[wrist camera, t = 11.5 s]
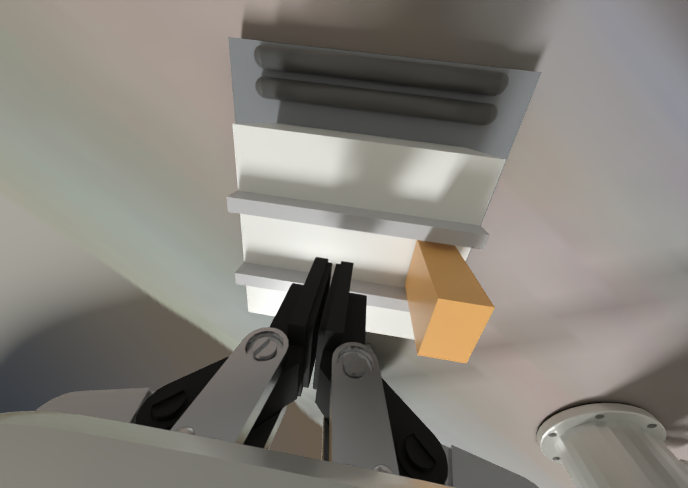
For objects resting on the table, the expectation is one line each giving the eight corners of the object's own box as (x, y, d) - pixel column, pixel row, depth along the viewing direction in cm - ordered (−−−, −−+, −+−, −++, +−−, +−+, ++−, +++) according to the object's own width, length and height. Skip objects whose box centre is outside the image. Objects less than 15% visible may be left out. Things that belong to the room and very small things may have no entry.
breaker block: (527, 76, 16) (673, 33, 8) (435, 320, 25) (461, 407, 18) (240, 43, 17) (123, -24, 9) (256, 290, 26) (206, 361, 18)
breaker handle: (454, 244, 13) (494, 307, 9) (438, 289, 15) (466, 363, 10) (417, 239, 13) (438, 298, 9) (404, 284, 15) (417, 355, 10)
